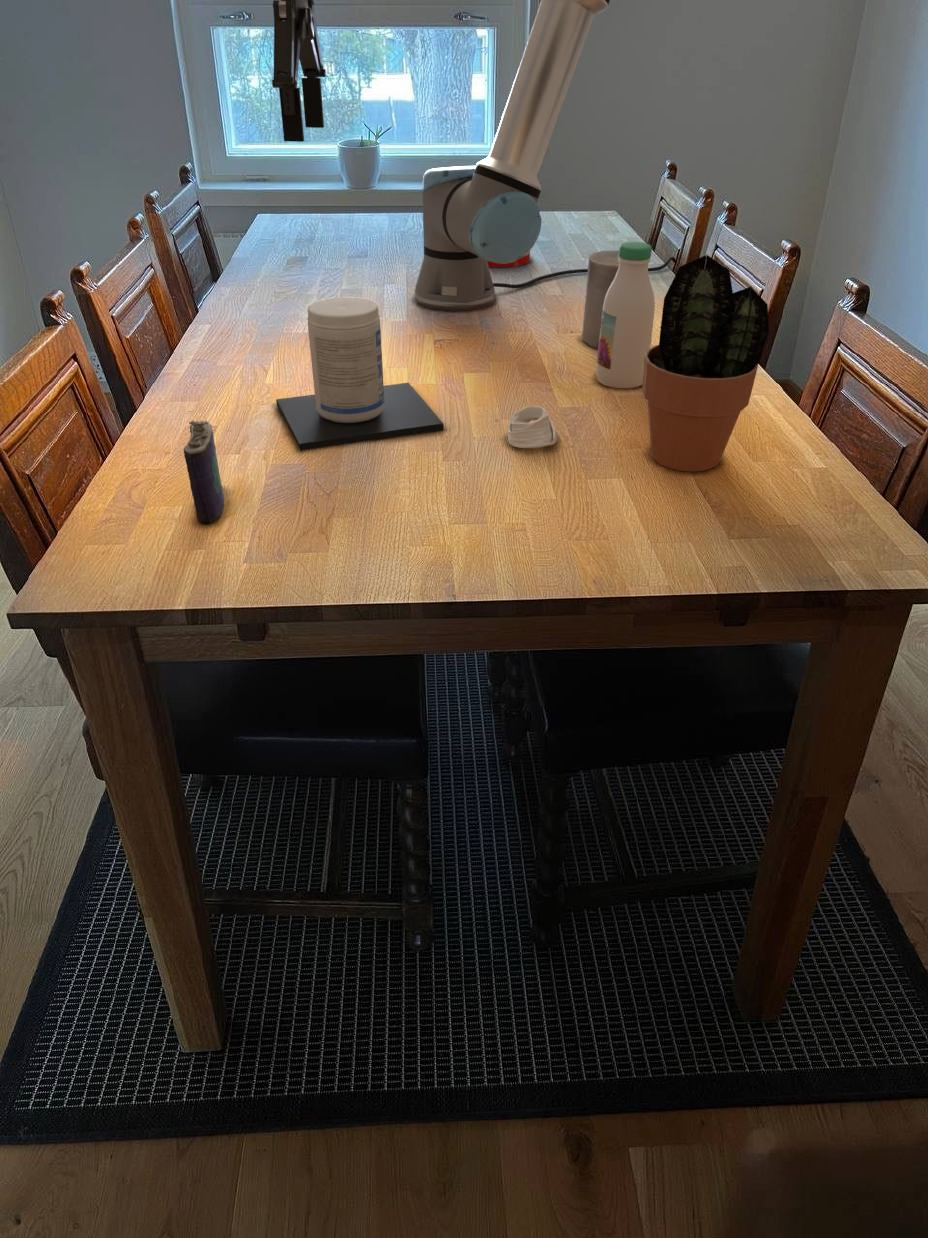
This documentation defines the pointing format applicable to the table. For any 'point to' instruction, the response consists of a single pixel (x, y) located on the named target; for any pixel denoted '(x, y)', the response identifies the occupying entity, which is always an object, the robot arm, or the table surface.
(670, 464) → the potted plant
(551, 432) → the white wrapped ring
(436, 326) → the table surface
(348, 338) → the supplement tub
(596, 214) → the table surface
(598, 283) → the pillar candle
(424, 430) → the mat
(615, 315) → the milk bottle
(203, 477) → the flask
